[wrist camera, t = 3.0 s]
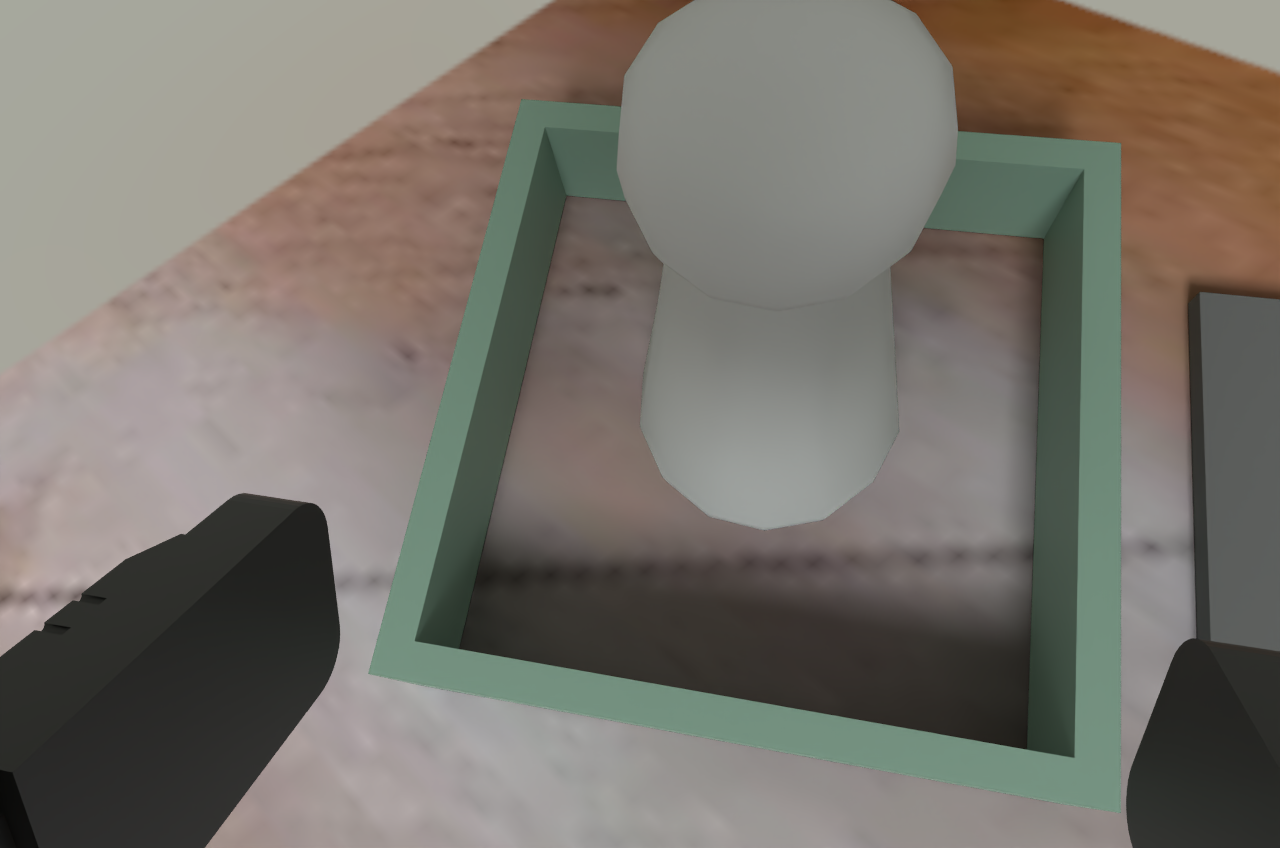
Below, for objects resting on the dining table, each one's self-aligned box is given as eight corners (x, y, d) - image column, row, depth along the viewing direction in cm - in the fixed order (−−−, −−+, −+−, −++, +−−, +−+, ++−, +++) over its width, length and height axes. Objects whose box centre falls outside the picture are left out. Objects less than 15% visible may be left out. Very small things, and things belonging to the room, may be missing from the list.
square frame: (1076, 215, 24) (1120, 142, 21) (1064, 804, 19) (1120, 812, 16) (545, 169, 26) (521, 98, 23) (416, 684, 21) (368, 673, 19)
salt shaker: (851, 314, 23) (967, -157, 11) (911, 525, 21) (1131, 224, 9) (632, 358, 24) (516, -59, 12) (670, 570, 22) (578, 334, 10)
